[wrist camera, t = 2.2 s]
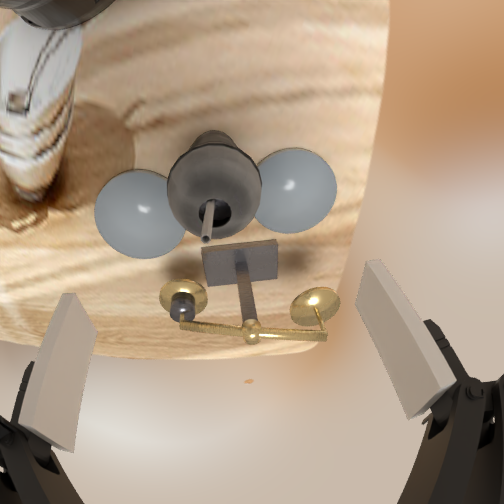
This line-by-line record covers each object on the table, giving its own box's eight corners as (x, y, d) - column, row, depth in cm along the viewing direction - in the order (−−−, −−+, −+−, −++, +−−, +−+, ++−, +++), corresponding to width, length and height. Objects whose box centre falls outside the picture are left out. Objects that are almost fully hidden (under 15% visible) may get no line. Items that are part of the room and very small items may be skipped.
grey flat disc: (86, 179, 30) (83, 183, 29) (179, 162, 31) (178, 165, 30) (112, 257, 37) (110, 263, 36) (194, 248, 38) (193, 253, 37)
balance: (160, 252, 37) (143, 343, 25) (316, 235, 39) (359, 317, 27) (170, 284, 41) (161, 374, 29) (312, 268, 42) (347, 350, 30)
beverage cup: (198, 189, 33) (190, 321, 17) (170, 136, 29) (116, 231, 13) (255, 164, 32) (304, 279, 16) (230, 107, 28) (257, 163, 12)
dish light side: (245, 150, 31) (246, 153, 30) (336, 147, 32) (340, 150, 31) (249, 232, 37) (250, 237, 36) (329, 224, 38) (332, 229, 37)
